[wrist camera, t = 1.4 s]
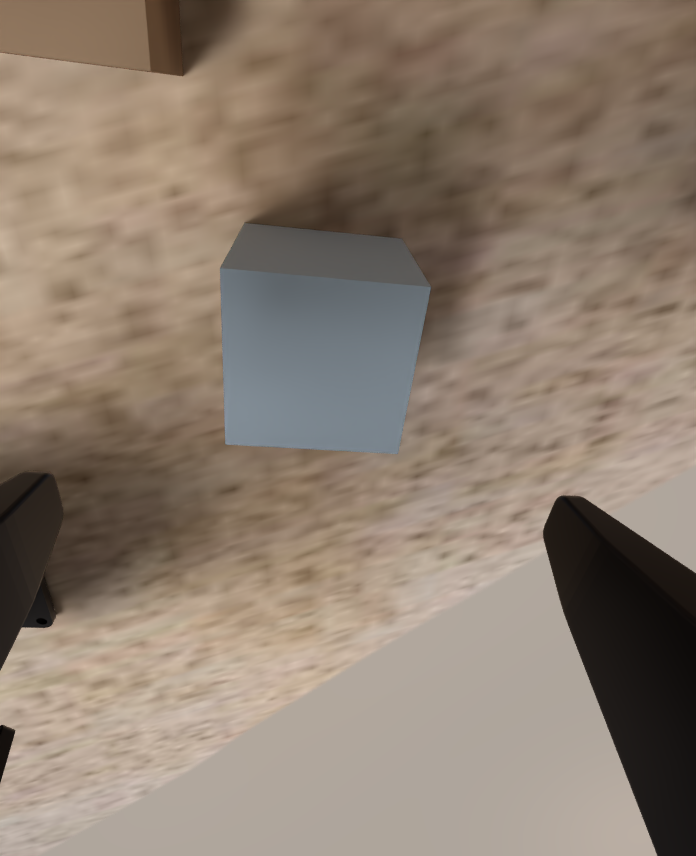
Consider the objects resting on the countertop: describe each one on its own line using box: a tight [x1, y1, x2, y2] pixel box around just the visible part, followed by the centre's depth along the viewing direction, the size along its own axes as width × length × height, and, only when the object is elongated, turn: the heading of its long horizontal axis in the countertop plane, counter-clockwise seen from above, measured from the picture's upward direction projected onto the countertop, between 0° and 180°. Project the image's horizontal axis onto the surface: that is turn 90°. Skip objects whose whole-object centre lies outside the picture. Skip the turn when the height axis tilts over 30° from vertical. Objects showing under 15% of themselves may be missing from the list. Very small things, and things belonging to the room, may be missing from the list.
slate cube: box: [220, 223, 431, 454], centre depth 15 cm, size 5×5×5 cm
